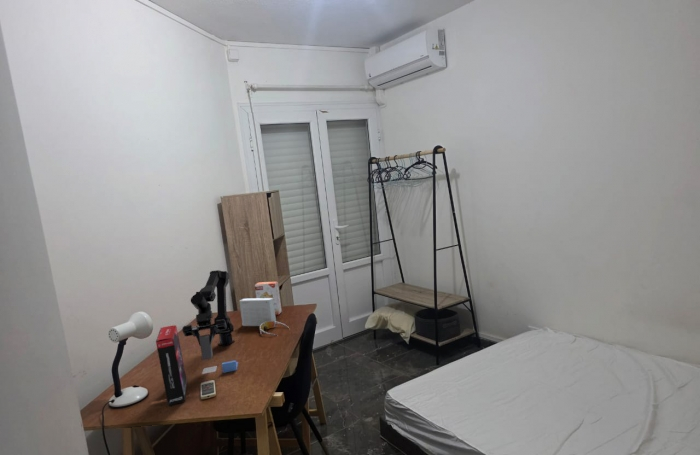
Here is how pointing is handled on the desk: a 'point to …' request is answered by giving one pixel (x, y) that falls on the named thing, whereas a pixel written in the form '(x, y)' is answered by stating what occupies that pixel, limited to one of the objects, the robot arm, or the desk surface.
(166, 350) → the graphics card box
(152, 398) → the desk surface
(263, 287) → the cracker box
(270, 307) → the skincare box
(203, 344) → the tall grey square pillar
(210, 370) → the white block board
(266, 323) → the sunglasses
